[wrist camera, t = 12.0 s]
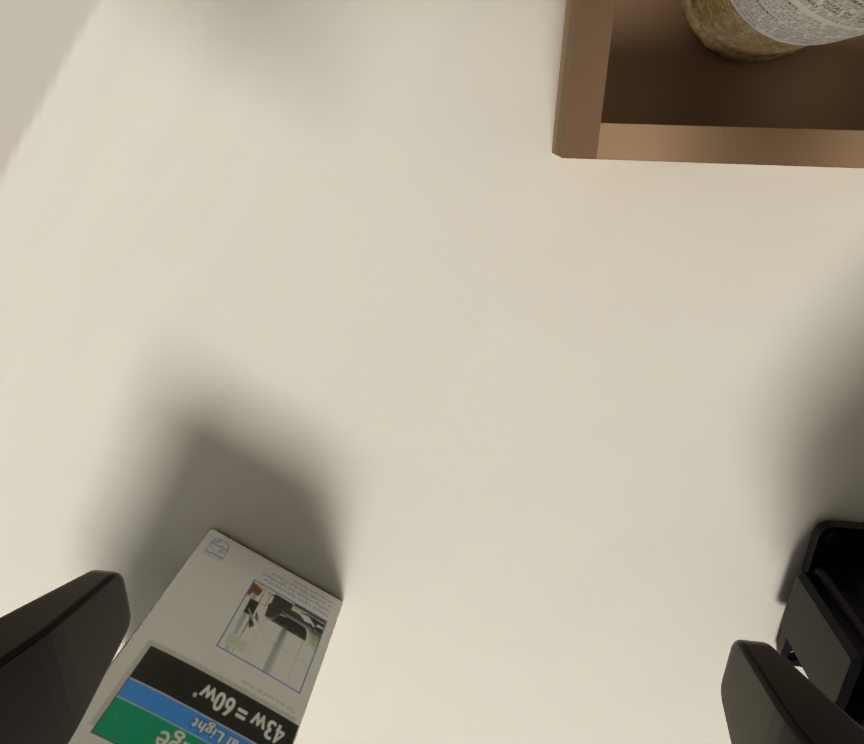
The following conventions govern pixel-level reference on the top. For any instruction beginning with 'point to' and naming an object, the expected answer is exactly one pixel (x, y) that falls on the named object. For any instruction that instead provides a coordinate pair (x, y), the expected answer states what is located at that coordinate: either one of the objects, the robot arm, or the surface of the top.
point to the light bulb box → (217, 656)
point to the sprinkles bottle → (772, 25)
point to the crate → (700, 94)
